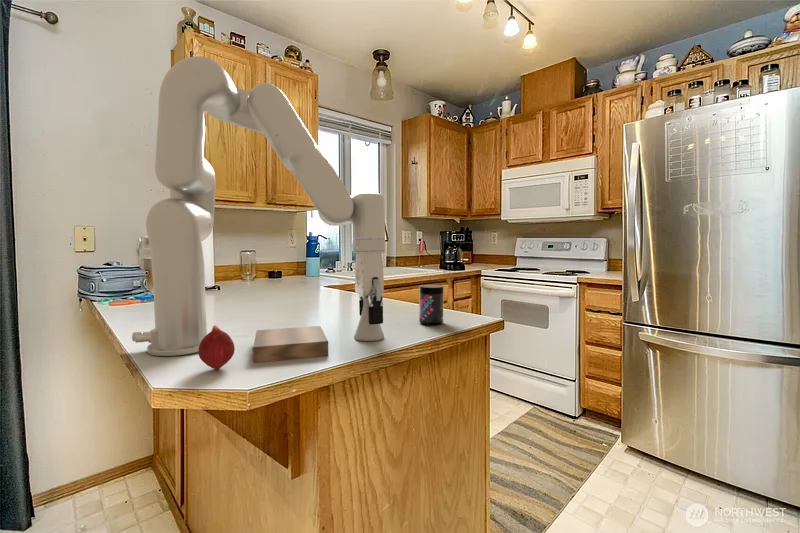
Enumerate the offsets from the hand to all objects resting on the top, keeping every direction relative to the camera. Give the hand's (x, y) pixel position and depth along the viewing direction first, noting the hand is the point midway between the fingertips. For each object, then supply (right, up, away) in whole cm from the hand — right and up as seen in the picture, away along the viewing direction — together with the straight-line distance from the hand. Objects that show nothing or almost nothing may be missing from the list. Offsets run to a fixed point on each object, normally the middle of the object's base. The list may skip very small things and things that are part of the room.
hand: (370, 319), depth 91 cm
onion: (-26, -6, -22) cm, 34 cm away
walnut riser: (-16, -5, -9) cm, 19 cm away
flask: (0, -5, 0) cm, 5 cm away
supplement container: (+16, -4, +16) cm, 23 cm away
